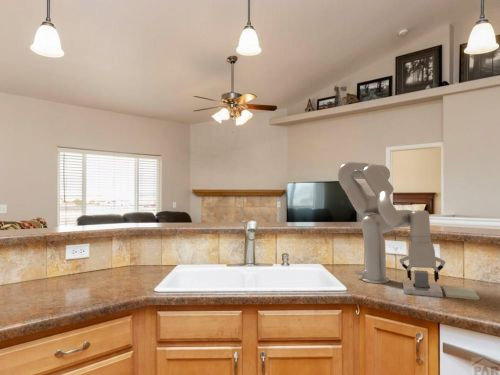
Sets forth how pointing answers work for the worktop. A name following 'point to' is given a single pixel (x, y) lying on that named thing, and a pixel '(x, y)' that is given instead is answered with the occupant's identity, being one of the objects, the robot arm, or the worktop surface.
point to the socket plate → (422, 289)
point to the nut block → (421, 279)
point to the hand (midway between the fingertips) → (422, 280)
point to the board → (460, 293)
